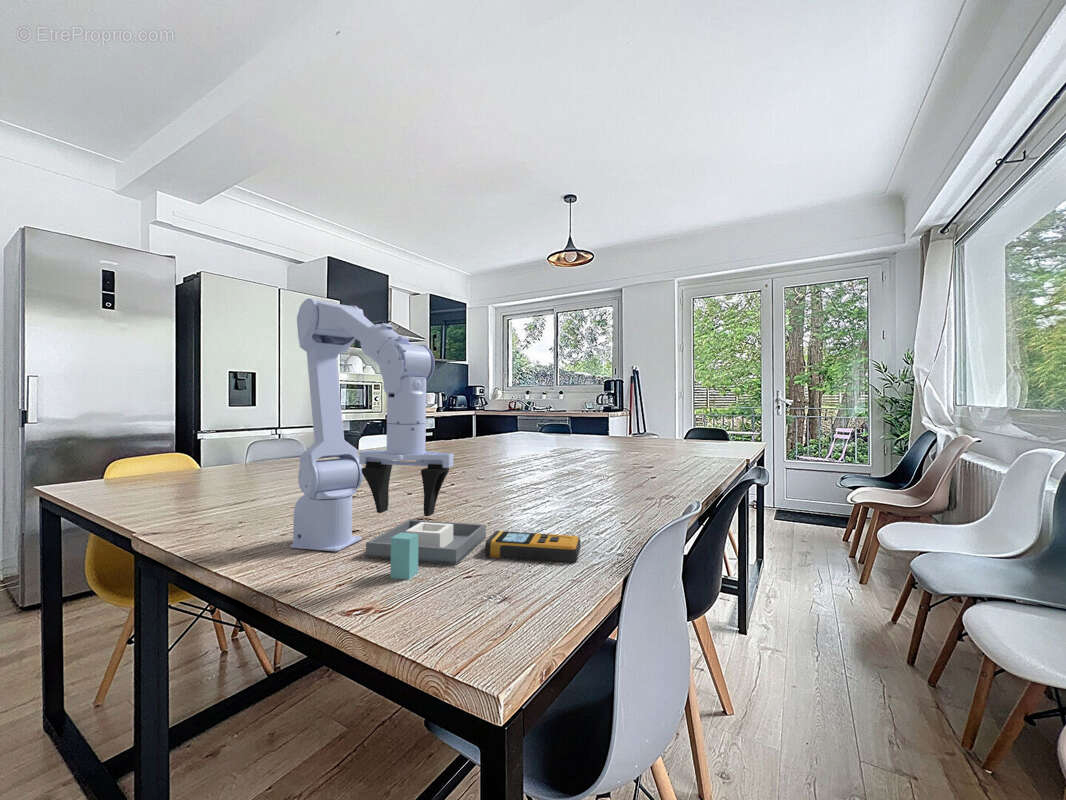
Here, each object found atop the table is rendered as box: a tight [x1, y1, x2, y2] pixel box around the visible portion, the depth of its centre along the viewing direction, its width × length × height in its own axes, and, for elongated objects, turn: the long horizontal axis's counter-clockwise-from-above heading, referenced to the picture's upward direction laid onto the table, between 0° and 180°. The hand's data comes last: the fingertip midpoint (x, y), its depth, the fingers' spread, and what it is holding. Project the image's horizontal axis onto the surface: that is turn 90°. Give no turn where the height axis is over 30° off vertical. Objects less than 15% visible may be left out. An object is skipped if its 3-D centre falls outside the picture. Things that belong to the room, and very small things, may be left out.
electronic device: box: [484, 530, 581, 564], centre depth 85 cm, size 8×16×3 cm, turn 80°
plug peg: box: [390, 533, 419, 581], centre depth 74 cm, size 3×3×6 cm
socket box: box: [365, 519, 487, 566], centre depth 88 cm, size 16×16×4 cm
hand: (405, 513), depth 74 cm, fingers open, 7 cm apart
